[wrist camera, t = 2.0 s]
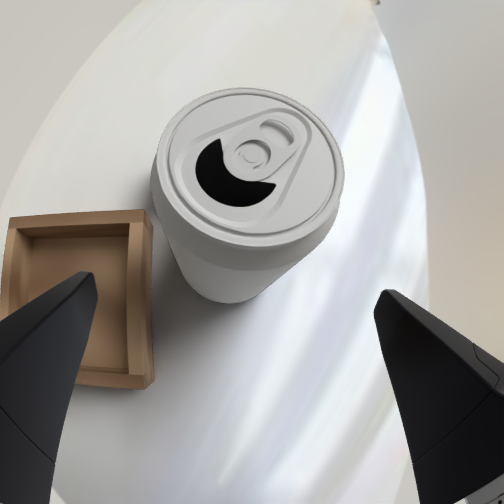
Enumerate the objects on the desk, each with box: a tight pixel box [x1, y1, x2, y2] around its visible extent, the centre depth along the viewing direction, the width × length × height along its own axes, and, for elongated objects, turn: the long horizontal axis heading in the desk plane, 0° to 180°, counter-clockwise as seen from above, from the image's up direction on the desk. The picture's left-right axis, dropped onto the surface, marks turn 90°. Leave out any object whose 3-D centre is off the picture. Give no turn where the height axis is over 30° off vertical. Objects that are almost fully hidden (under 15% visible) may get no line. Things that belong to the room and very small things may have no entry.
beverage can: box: [150, 87, 345, 303], centre depth 14 cm, size 6×6×12 cm
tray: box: [0, 209, 154, 389], centre depth 16 cm, size 10×10×3 cm
